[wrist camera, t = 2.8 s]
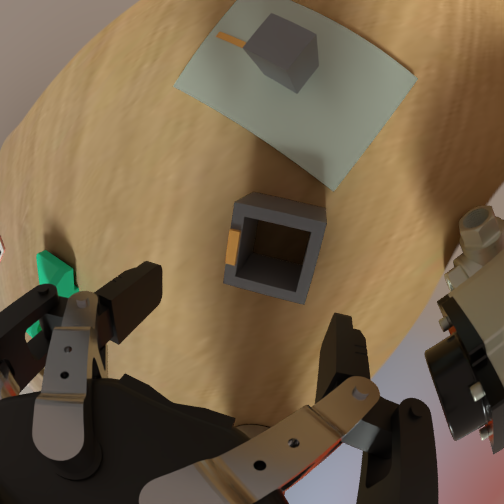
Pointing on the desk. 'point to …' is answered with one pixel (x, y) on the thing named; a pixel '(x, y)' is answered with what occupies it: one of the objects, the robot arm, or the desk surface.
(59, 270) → the camera mount
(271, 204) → the grey open box
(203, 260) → the desk surface
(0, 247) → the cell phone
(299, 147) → the grey base with post
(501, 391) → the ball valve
